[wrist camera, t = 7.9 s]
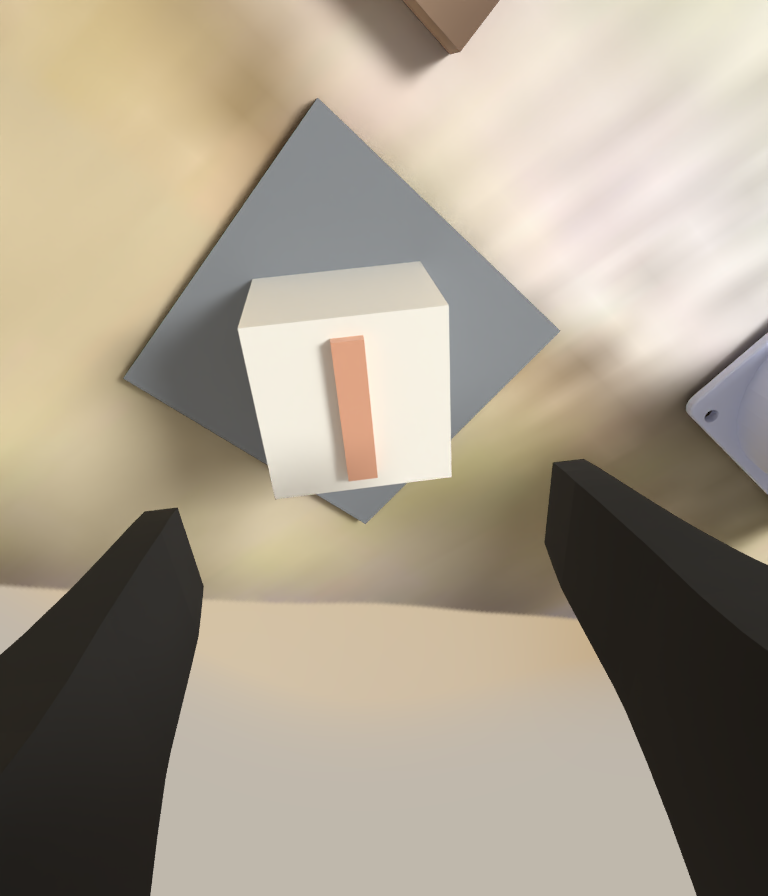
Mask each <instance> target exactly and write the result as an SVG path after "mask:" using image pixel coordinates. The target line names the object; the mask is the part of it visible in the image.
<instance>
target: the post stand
mask: <svg viewBox="0 0 768 896" xmlns="http://www.w3.org/2000/svg"><path fill="white" fill-rule="evenodd" d="M402 1H403V2H404V3H405V4H406V5H407V6H408V7H409V8H410V10H411V11H412V12H413V13H414V14H415V15H416V16H417V18H418V19H419V20H420V21H421V22H422V23H423V24H424V26H425V27H426V28H427V29H428V30H429V31H430V32H431V33H432V35H433V36H434V37H435V38H436V39H437V40H438V41H439V43H440V44H441V45H442V46H443V47H444V48H445V49H446V51H447V52H448V53H449V54H454V53H457V52H460V51H461V50H462V49H463V47H464V46H465V45H466V44H467V42H468V41H469V40H470V38H471V37H472V36H473V34H474V33H475V32H476V30H477V29H478V28H479V26H480V25H481V24H482V23H483V21H484V20H485V19H486V17H487V16H488V15H489V13H490V12H491V11H492V9H493V8H494V7H495V6H496V4H497V3H498V2H499V0H402Z"/></svg>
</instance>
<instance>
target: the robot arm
mask: <svg viewBox="0 0 768 896" xmlns="http://www.w3.org/2000/svg"><path fill="white" fill-rule="evenodd" d="M711 410H712V412H711V413H710V414H709V415H708V416H706V417H705V415H706V414H707V413H708V412H709V411H711ZM686 412H687V413H688V415H689V416H690V417H691V418H692V419H693V420H694V421H695V422H696V423H697V424H698V425H699V426H700V427H701V428H702V429H703V430H704V431H705V432H706V433H707V434H708V435H709V436H710V437H711V438H712V439H713V440H714V441H715V442H716V443H717V444H718V445H719V446H720V447H721V448H722V449H723V450H724V451H725V452H726V453H727V454H728V455H729V456H730V457H731V458H732V459H733V460H734V461H735V462H736V463H737V464H738V465H739V466H740V467H741V468H742V469H743V471H744V472H745V473H746V474H747V475H748V476H749V477H750V478H751V479H752V480H753V481H754V482H755V483H756V484H757V485H758V486H759V487H760V488H761V489H762V490H763V491H764V492H765V493H766V494H767V495H768V333H766V334H765V335H764V336H763V337H762V338H761V339H759V340H758V341H757V342H756V343H755V344H754V345H752V346H751V347H750V348H749V349H748V350H746V351H745V352H744V353H743V354H742V355H741V356H739V357H738V358H737V359H736V360H735V361H734V362H732V363H731V364H730V365H729V366H728V367H727V368H725V369H724V370H723V371H722V372H721V373H720V374H718V375H717V376H716V377H715V378H714V379H712V380H711V381H710V382H709V383H708V384H707V385H705V386H704V387H703V388H702V389H701V390H700V391H698V392H697V393H696V394H695V395H694V396H693V397H691V399H690V400H689V401H688V403H687V405H686ZM545 545H546V548H547V551H548V554H549V557H550V559H551V562H552V565H553V568H554V570H555V573H556V576H557V578H558V581H559V583H560V586H561V588H562V590H563V592H564V594H565V596H566V598H567V600H568V602H569V604H570V606H571V608H572V609H573V611H574V613H575V615H576V617H577V619H578V621H579V623H580V625H581V626H582V628H583V630H584V632H585V634H586V636H587V638H588V639H589V641H590V643H591V645H592V647H593V649H594V651H595V652H596V654H597V656H598V658H599V660H600V662H601V664H602V665H603V667H604V669H605V671H606V673H607V675H608V677H609V679H610V680H611V682H612V684H613V686H614V688H615V690H616V692H617V694H618V696H619V698H620V700H621V702H622V704H623V706H624V708H625V711H626V713H627V715H628V718H629V720H630V722H631V725H632V727H633V730H634V732H635V735H636V737H637V739H638V742H639V744H640V747H641V749H642V751H643V754H644V756H645V758H646V761H647V763H648V766H649V769H650V771H651V773H652V776H653V779H654V781H655V784H656V787H657V789H658V791H659V794H660V796H661V799H662V802H663V805H664V807H665V810H666V812H667V815H668V817H669V820H670V823H671V825H672V828H673V831H674V834H675V836H676V839H677V842H678V844H679V847H680V850H681V853H682V856H683V859H684V861H685V864H686V867H687V869H688V872H689V875H690V878H691V880H692V883H693V886H694V889H695V892H696V895H697V896H768V565H766V564H764V563H762V562H760V561H758V560H755V559H753V558H751V557H749V556H747V555H745V554H743V553H741V552H739V551H738V550H736V549H734V548H732V547H730V546H728V545H726V544H724V543H723V542H721V541H719V540H717V539H715V538H713V537H712V536H710V535H708V534H706V533H704V532H702V531H701V530H699V529H697V528H695V527H694V526H692V525H690V524H688V523H687V522H685V521H683V520H682V519H680V518H678V517H677V516H675V515H673V514H672V513H670V512H668V511H667V510H665V509H663V508H662V507H660V506H658V505H657V504H655V503H654V502H652V501H650V500H649V499H647V498H646V497H644V496H642V495H641V494H639V493H638V492H636V491H635V490H633V489H631V488H630V487H628V486H627V485H625V484H624V483H622V482H621V481H619V480H617V479H616V478H614V477H613V476H611V475H610V474H608V473H606V472H605V471H603V470H602V469H600V468H598V467H597V466H595V465H593V464H592V463H590V462H588V461H586V460H585V459H579V460H571V461H562V462H554V463H553V467H552V477H551V486H550V496H549V505H548V515H547V524H546V534H545ZM203 587H204V586H203V583H202V580H201V577H200V574H199V571H198V568H197V565H196V562H195V559H194V556H193V553H192V550H191V547H190V544H189V541H188V538H187V535H186V532H185V529H184V526H183V523H182V520H181V517H180V514H179V511H178V508H171V509H163V510H154V511H146V512H144V513H143V514H142V515H141V516H140V517H139V518H138V519H137V520H136V521H135V522H134V523H133V524H132V525H131V526H130V527H129V528H128V529H127V530H126V531H125V532H124V533H123V535H122V536H121V537H120V538H119V539H118V540H117V541H116V542H115V543H114V544H113V545H112V546H111V547H110V548H109V550H108V551H107V552H106V553H105V554H104V555H103V556H102V557H101V558H100V559H99V560H98V561H97V562H96V563H95V564H94V565H93V566H92V567H91V569H90V570H89V571H88V572H87V573H86V574H85V575H84V576H83V577H82V578H81V579H80V580H79V581H78V582H77V583H76V584H75V585H74V586H73V587H72V588H71V589H70V590H69V591H68V592H67V593H66V594H65V595H64V596H63V597H62V598H61V599H60V600H59V601H58V602H57V603H56V604H55V605H54V606H53V607H52V608H51V609H50V610H48V612H46V614H44V615H43V616H42V617H41V618H40V619H39V620H38V621H37V622H36V623H35V624H34V625H33V626H32V627H31V628H30V629H29V630H28V631H27V632H26V633H25V634H23V636H21V637H20V638H19V639H18V640H17V641H16V642H14V643H13V644H12V645H11V646H10V647H9V648H8V649H7V650H5V651H4V652H3V653H2V654H1V655H0V896H150V892H151V884H152V875H153V868H154V860H155V851H156V843H157V835H158V827H159V821H160V814H161V806H162V799H163V792H164V785H165V778H166V773H167V768H168V763H169V757H170V753H171V748H172V744H173V740H174V736H175V732H176V728H177V724H178V720H179V715H180V711H181V707H182V703H183V699H184V694H185V690H186V687H187V683H188V678H189V674H190V670H191V666H192V662H193V657H194V653H195V648H196V644H197V640H198V635H199V627H200V618H201V608H202V598H203Z"/></svg>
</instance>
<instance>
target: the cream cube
mask: <svg viewBox="0 0 768 896" xmlns="http://www.w3.org/2000/svg"><path fill="white" fill-rule="evenodd" d="M238 333H239V337H240V342H241V346H242V351H243V356H244V360H245V365H246V369H247V374H248V378H249V383H250V387H251V392H252V396H253V401H254V405H255V410H256V414H257V419H258V423H259V428H260V432H261V437H262V441H263V446H264V450H265V455H266V459H267V464H268V469H269V473H270V478H271V482H272V487H273V491H274V496H275V499H282V498H289V497H297V496H305V495H313V494H321V493H329V492H337V491H345V490H353V489H360V488H368V487H376V486H384V485H392V484H400V483H408V482H416V481H424V480H431V479H439V478H447V477H452V476H451V411H450V347H449V305H448V303H447V302H446V300H445V299H444V297H443V296H442V294H441V293H440V291H439V289H438V288H437V286H436V285H435V283H434V282H433V280H432V279H431V277H430V276H429V274H428V273H427V271H426V270H425V268H424V267H423V265H422V263H421V262H420V261H418V262H409V263H399V264H390V265H380V266H371V267H362V268H352V269H343V270H333V271H324V272H314V273H305V274H296V275H286V276H277V277H267V278H258V279H252V283H251V286H250V289H249V293H248V296H247V299H246V302H245V306H244V309H243V312H242V316H241V319H240V322H239V325H238Z"/></svg>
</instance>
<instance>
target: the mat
mask: <svg viewBox="0 0 768 896" xmlns="http://www.w3.org/2000/svg"><path fill="white" fill-rule="evenodd" d="M418 261H420V262H421V263H422V265H423V267H424V268H425V270H426V271H427V273H428V274H429V276H430V277H431V279H432V280H433V282H434V283H435V285H436V286H437V288H438V289H439V291H440V293H441V294H442V296H443V297H444V299H445V300H446V302H447V303H448V305H449V347H450V411H451V439H452V438H453V437H454V436H455V435H456V434H457V433H458V432H459V431H460V430H461V429H462V428H463V427H464V426H465V425H466V424H467V423H468V422H469V421H470V420H471V419H472V418H473V417H474V416H475V415H476V414H477V413H478V412H479V411H480V410H481V409H482V408H483V407H484V406H485V405H486V404H487V403H488V402H489V401H490V400H491V399H492V398H493V397H494V396H495V395H496V394H497V393H498V392H499V391H500V390H501V389H502V388H503V387H504V386H505V385H506V384H507V383H508V382H509V381H510V380H511V379H512V378H513V377H514V376H515V375H516V374H517V373H518V372H519V371H520V370H521V369H523V368H524V367H525V366H526V365H527V364H528V363H529V362H530V361H531V360H532V359H533V358H534V357H535V356H536V355H537V354H538V353H539V352H540V351H541V350H542V349H543V348H544V347H545V346H546V345H547V344H548V343H549V342H550V341H551V340H552V339H553V338H554V337H555V336H556V335H557V334H558V333H559V332H560V330H559V329H558V328H557V327H556V326H555V325H554V324H553V323H551V322H550V321H549V320H548V319H547V318H546V317H545V316H544V315H543V314H542V313H541V312H540V311H539V310H538V309H537V308H536V307H535V306H534V305H533V304H532V303H531V302H530V301H529V300H528V299H527V298H525V297H524V296H523V295H522V294H521V293H520V292H519V291H518V290H517V289H516V288H515V287H514V286H513V285H512V284H511V283H510V282H509V281H508V280H507V279H506V278H505V277H504V276H503V275H502V274H501V273H499V272H498V271H497V270H496V269H495V268H494V267H493V266H492V265H491V264H490V263H489V262H488V261H487V260H486V259H485V258H484V257H483V256H482V255H481V254H480V253H479V252H478V251H477V250H476V249H475V248H473V247H472V246H471V245H470V244H469V243H468V242H467V241H466V240H465V239H464V238H463V237H462V236H461V235H460V234H459V233H458V232H457V231H456V230H455V229H454V228H453V227H452V226H451V225H450V224H449V223H447V222H446V221H445V220H444V219H443V218H442V217H441V216H440V215H439V214H438V213H437V212H436V211H435V210H434V209H433V208H432V207H431V206H430V205H429V204H428V203H427V202H426V201H425V200H424V199H423V198H421V197H420V196H419V195H418V194H417V193H416V192H415V191H414V190H413V189H412V188H411V187H410V186H409V185H408V184H407V183H406V182H405V181H404V180H403V179H402V178H401V177H400V176H399V175H398V174H396V173H395V172H394V171H393V170H392V169H391V168H390V167H389V166H388V165H387V164H386V163H385V162H384V161H383V160H382V159H381V158H380V157H379V156H378V155H377V154H376V153H375V152H374V151H373V150H372V149H370V148H369V147H368V146H367V145H366V144H365V143H364V142H363V141H362V140H361V139H360V138H359V137H358V136H357V135H356V134H355V133H354V132H353V131H352V130H351V129H350V128H349V127H348V126H347V125H346V124H344V123H343V122H342V121H341V120H340V119H339V118H338V117H337V116H336V115H335V114H334V113H333V112H332V111H331V110H330V109H329V108H328V107H327V106H326V105H325V104H324V103H323V102H322V101H321V100H320V99H318V98H317V99H316V101H315V102H314V103H313V105H312V106H311V108H310V109H309V111H308V112H307V114H306V115H305V116H304V118H303V119H302V121H301V122H300V124H299V125H298V127H297V128H296V129H295V131H294V132H293V134H292V135H291V137H290V138H289V140H288V141H287V142H286V144H285V145H284V147H283V148H282V150H281V151H280V153H279V154H278V155H277V157H276V158H275V160H274V161H273V163H272V164H271V165H270V167H269V168H268V170H267V171H266V173H265V174H264V176H263V177H262V178H261V180H260V181H259V183H258V184H257V186H256V187H255V189H254V190H253V191H252V193H251V194H250V196H249V197H248V199H247V200H246V202H245V203H244V204H243V206H242V207H241V209H240V210H239V212H238V213H237V215H236V216H235V217H234V219H233V220H232V222H231V223H230V225H229V226H228V228H227V229H226V230H225V232H224V233H223V235H222V236H221V238H220V239H219V241H218V242H217V243H216V245H215V246H214V248H213V249H212V251H211V252H210V254H209V255H208V256H207V258H206V259H205V261H204V262H203V264H202V265H201V267H200V268H199V269H198V271H197V272H196V274H195V275H194V277H193V278H192V280H191V281H190V282H189V284H188V285H187V287H186V288H185V290H184V291H183V293H182V294H181V295H180V297H179V298H178V300H177V301H176V303H175V304H174V306H173V307H172V308H171V310H170V311H169V313H168V314H167V316H166V317H165V319H164V320H163V321H162V323H161V324H160V326H159V327H158V329H157V330H156V332H155V333H154V334H153V336H152V337H151V339H150V340H149V342H148V343H147V345H146V346H145V347H144V349H143V350H142V352H141V353H140V355H139V356H138V358H137V359H136V360H135V362H134V363H133V365H132V366H131V368H130V369H129V370H128V372H127V373H126V375H125V376H124V378H123V379H125V380H127V381H128V382H130V383H132V384H133V385H135V386H136V387H138V388H140V389H141V390H143V391H145V392H146V393H148V394H150V395H151V396H153V397H155V398H156V399H158V400H160V401H161V402H163V403H165V404H166V405H168V406H170V407H171V408H173V409H175V410H176V411H178V412H180V413H181V414H183V415H185V416H186V417H188V418H190V419H191V420H193V421H195V422H196V423H198V424H200V425H201V426H203V427H205V428H206V429H208V430H210V431H211V432H213V433H215V434H216V435H218V436H220V437H221V438H223V439H225V440H226V441H228V442H230V443H231V444H233V445H235V446H236V447H238V448H240V449H241V450H243V451H245V452H246V453H248V454H250V455H251V456H253V457H255V458H256V459H258V460H260V461H261V462H263V463H265V464H266V465H268V464H267V459H266V455H265V450H264V446H263V441H262V437H261V432H260V428H259V423H258V419H257V414H256V410H255V405H254V401H253V396H252V392H251V387H250V383H249V378H248V374H247V369H246V365H245V360H244V356H243V351H242V346H241V342H240V337H239V333H238V325H239V322H240V319H241V316H242V312H243V309H244V306H245V302H246V299H247V296H248V293H249V289H250V286H251V283H252V279H258V278H267V277H277V276H286V275H296V274H305V273H314V272H324V271H333V270H343V269H352V268H362V267H371V266H380V265H390V264H399V263H409V262H418ZM405 484H406V483H400V484H392V485H384V486H376V487H368V488H360V489H353V490H345V491H337V492H329V493H321V494H316V495H318V496H320V497H321V498H323V499H325V500H326V501H328V502H330V503H331V504H333V505H335V506H336V507H338V508H340V509H341V510H343V511H345V512H346V513H348V514H350V515H351V516H353V517H355V518H356V519H358V520H360V521H361V522H363V523H365V524H366V523H367V522H368V521H369V520H370V519H371V518H372V517H373V516H374V515H375V514H376V513H377V512H378V511H379V510H380V509H381V508H382V507H383V506H384V505H385V504H386V503H387V502H388V501H389V500H390V499H391V498H392V497H393V496H394V495H395V494H396V493H397V492H398V491H399V490H400V489H401V488H402V487H403V486H404V485H405Z"/></svg>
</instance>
